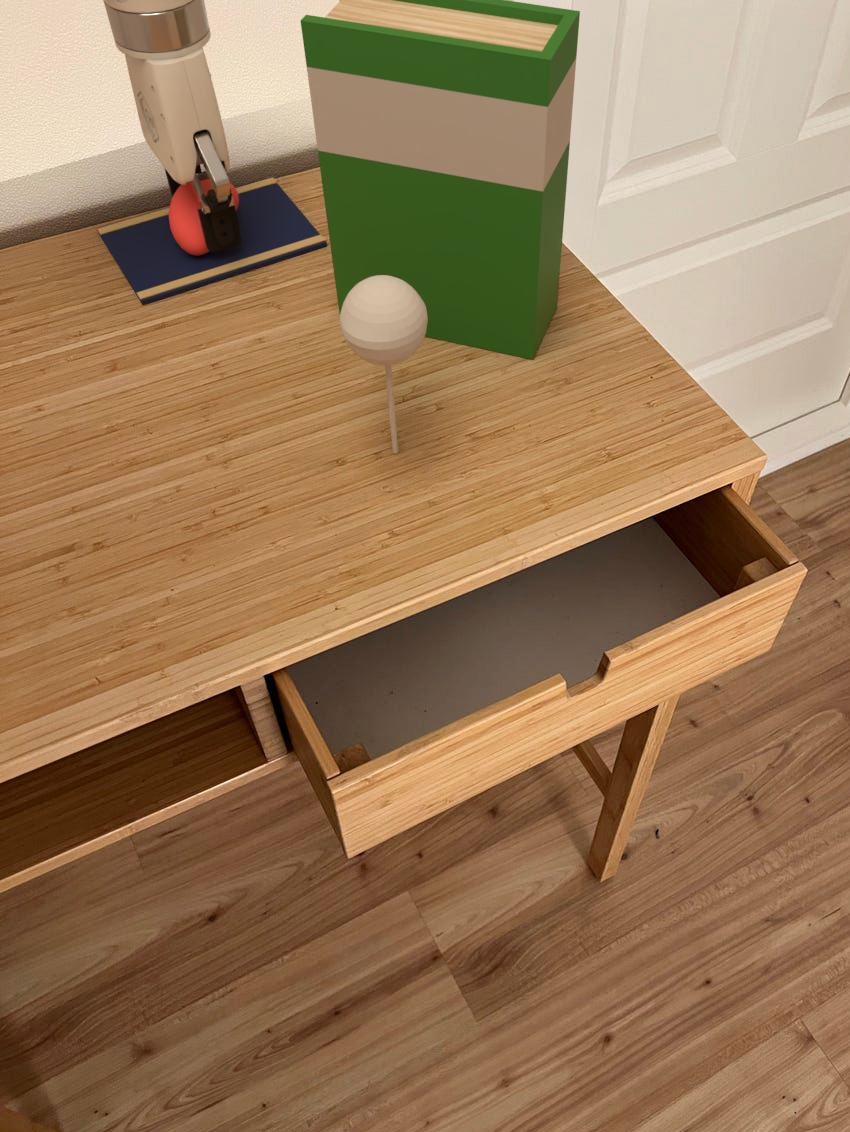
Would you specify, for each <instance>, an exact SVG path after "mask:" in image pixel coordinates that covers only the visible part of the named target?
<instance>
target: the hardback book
mask: <svg viewBox="0 0 850 1132" xmlns="http://www.w3.org/2000/svg"><path fill="white" fill-rule="evenodd" d="M580 15H581V11H580V10H574V9H568V8H561V7H556V6H555V7H554V6H548V5H540V4H535V3H534V4H533V3H527V2H521V1H513V0H339V1H338V2H337V3H336V5H334V7H333V8H332V9H331V10H330V11H329V12H328V13H327V14H326V15H325V16H316V15H311V14H305V15H304V16H303V17H302V18H301V19H300V27H301V35H302V43H303V49H304V58H305V65H306V72H307V79H308V88H309V96H310V102H311V103H310V104H311V109H312V117H313V125H314V134H315V141H316V148H317V155H318V163H319V170H320V171H319V172H320V178H321V184H322V185H321V186H322V192H323V200H324V207H325V215H326V222H327V223H326V224H327V229H328V230H327V231H328V238H329V245H330V246H329V247H330V253H331V259H332V260H331V261H332V267H333V275H334V276H333V277H334V282H335V290H336V299H337V306H338V312H339V314H340V313H341V309H342V306H343V303H344V301H345V299H346V297H347V295H348V293H349V292H350V291H351V290H352V288H353V287H354V286H355V285H356V284H358V283H359V282H361V281H363V280H365V279H367V278H369V277H372V276H377V275H388V276H393V277H396V278H399V279H401V280H403V281H405V282H406V283H408V284H409V285H410V286H411V287H413V288H414V290H415V291H416V292H417V293H418V295H419V296H420V297H421V299H422V300H423V302H424V304H425V306H426V310H427V317H428V322H427V328H426V334H425V337H426V338H431V339H436V340H440V341H444V342H449V343H454V344H457V345H463V346H468V347H473V348H477V349H481V350H487V351H490V352H495V353H500V354H506V355H510V356H514V357H518V358H522V359H523V358H524V359H528V360H529V359H530V360H533V361H534V359H535V357H536V355H537V353H538V351H539V349H540V346H541V344H542V342H543V340H544V337H545V335H546V333H547V331H548V329H549V326H550V325H551V322H552V320H553V318H554V315H555V313H556V311H557V310H558V299H559V288H560V275H561V263H562V262H561V261H562V248H563V236H564V222H565V211H566V198H567V184H568V171H569V158H570V144H571V133H572V120H573V107H574V94H575V81H576V67H577V55H578V41H579V27H580V17H581V16H580ZM425 337H424V338H425Z"/></svg>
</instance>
